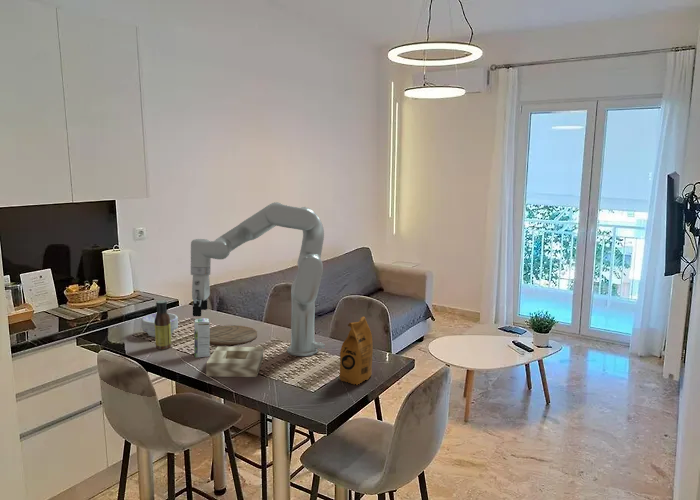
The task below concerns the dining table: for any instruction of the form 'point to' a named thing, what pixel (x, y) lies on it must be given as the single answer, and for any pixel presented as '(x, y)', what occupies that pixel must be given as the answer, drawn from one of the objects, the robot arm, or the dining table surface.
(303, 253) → the robot arm
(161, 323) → the sauce bottle
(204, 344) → the syrup box
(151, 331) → the paper bowls
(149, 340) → the dining table surface
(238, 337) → the trivet
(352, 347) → the coffee package
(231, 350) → the socket block
